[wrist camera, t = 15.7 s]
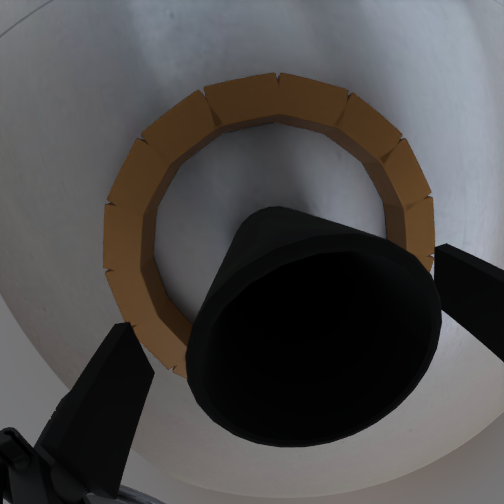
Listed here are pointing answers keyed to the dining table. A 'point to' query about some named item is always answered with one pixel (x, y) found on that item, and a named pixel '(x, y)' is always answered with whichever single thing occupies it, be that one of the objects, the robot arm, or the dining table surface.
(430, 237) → the orange-brown segmented ring
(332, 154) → the dining table surface
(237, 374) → the cup
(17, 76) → the dining table surface
